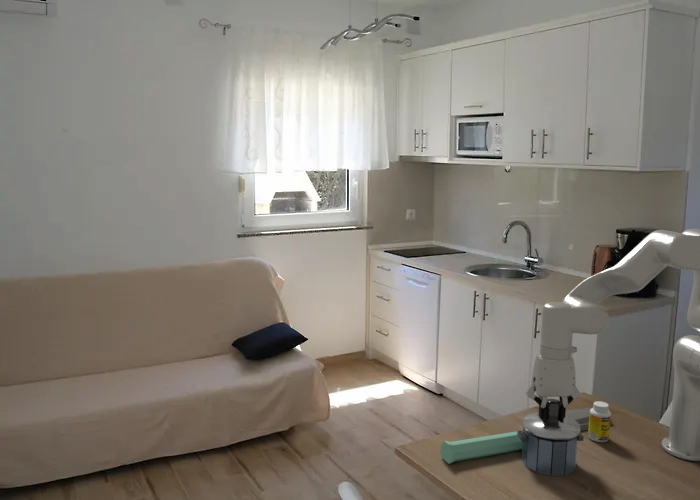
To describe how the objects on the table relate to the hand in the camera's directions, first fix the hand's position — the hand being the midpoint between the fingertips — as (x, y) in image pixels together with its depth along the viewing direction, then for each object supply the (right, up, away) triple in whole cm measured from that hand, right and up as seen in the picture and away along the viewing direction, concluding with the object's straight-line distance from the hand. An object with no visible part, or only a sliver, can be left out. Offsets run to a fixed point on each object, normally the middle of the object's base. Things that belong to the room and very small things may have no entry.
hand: (551, 419), depth 166 cm
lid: (0, -2, 0) cm, 2 cm away
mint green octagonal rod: (-15, -11, +7) cm, 20 cm away
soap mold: (+15, -8, +26) cm, 31 cm away
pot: (0, -12, +2) cm, 12 cm away
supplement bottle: (+18, -10, +16) cm, 26 cm away
